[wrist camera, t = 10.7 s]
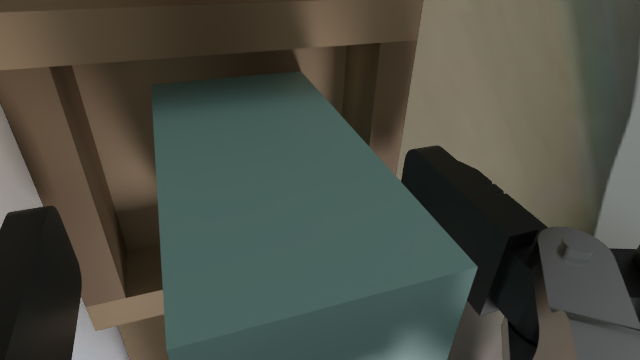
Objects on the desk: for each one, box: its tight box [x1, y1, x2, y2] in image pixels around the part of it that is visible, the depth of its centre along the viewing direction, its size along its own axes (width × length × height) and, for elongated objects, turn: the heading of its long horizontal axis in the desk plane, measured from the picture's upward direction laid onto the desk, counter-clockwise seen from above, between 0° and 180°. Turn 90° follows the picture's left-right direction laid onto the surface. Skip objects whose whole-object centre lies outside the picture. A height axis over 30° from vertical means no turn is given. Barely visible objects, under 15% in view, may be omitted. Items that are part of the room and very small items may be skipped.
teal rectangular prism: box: [151, 71, 478, 360], centre depth 9 cm, size 4×4×8 cm
